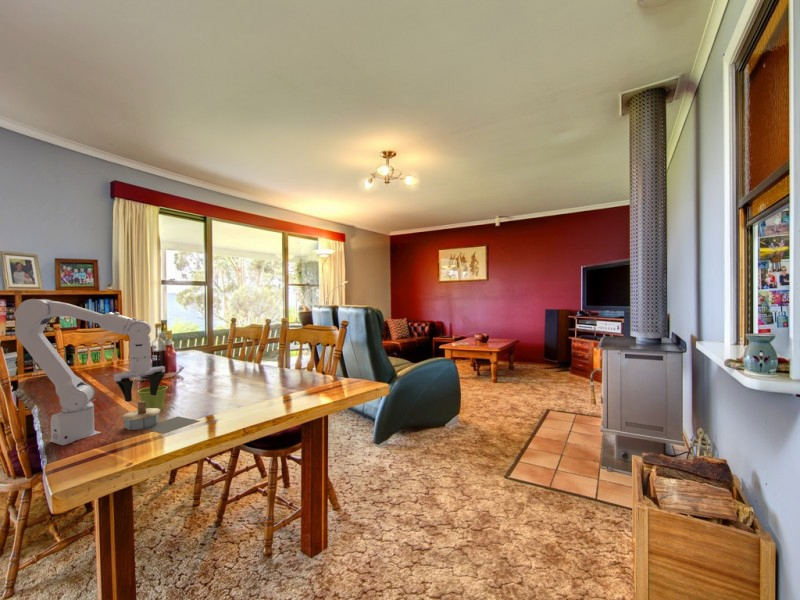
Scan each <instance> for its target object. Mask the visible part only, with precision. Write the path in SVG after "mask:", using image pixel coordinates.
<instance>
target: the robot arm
mask: <svg viewBox="0 0 800 600" xmlns="http://www.w3.org/2000/svg"><path fill="white" fill-rule="evenodd" d="M13 315H14V317H15V325H14V326H15V329H14V335H15V337H16V338H17V340H18V341H19V343H20V344H21V345H22V346H23V347H24V349H25V350H26V351H27V352H28V354H29V355H30V356H31V357H32V359H33V360H34V361H35V362H36V364H37V365H38V366H39V368H41V370H42V371H43V373H44V374H45V375H46V376H47V378H48V379H49V380H50V381H51V382H52V384H53V385H54V387H55V394H56V395H57V396H58V398H59V405H60V407H61V411H60V412H58V413H55V414H52V416H51V418H50V420H49V421H50V439H49V442H51V443H53V444H54V443H55V444H57V445H60V446H66V445H68V444H69V445H70V444H72V443H75V442H76V441H79V440H81V439H85V438H88V437H91V436H95V435H97V434H101V431H97V430H95V404H94V402H92V401H91V400H93V399H94V396H95V394H96V393H95V389H94V386H92V385H90V384H88V383H86V382H85V381H84V380H83V378H81V377H79V376H77V375H76V374H75V373H74V371H73V370H72V369H71V368H70V366H69V365H68V364H67V362H66V361H65V360H64V359H63V358H62V357H63V356H61V355H60V353H59V352H58V351H57V350H56V349H55V347H54V346H53V344H52V343H51V342H50V341H49V340H48V338H47V337H46V336H45V334H44V331H45V328H46V327H47V325H48V323H49V322H50V321H51V320H52V319H54V318H56V317H57V318H58V317H69V318H74V319H78V320H81V321H86V322H89V323H94V324H98V326H99V327H100V328H101V330H104V331H109V332H111V333H115V334H118V335H123V336H128V337H129V344H128V345H129V346H128V347H129V370H128V371H125V372H121V373H116V374H115V373H114V374H113V381H115V383H116V384H117V386H118V387H119V389H120V390H121V393H122V394H123V398H124V400H125V401H124V402H132V400H133V398H132V395H133V393H132V389H133V383H134V381H133V380H131V379H134V378H139V377H144V376H148V381H149V387H150V394H151V395H156V394H157V390H158V387H159V386H160V384H161V383H162V380H163V378H164V377H165V372H166V366H164V365H161V366H153V367H152V350H151V349H152V347H151V345H152V343H151V336H150V333H151V331H152V327H151V325H150V323H149V322H147V321H145V320H143V319H142V320H141V319H139V320H138V318H137V317H128V316H125V315H121V313H120V312H117V311H114V312H112V311H111V312H106V313H103V314H102V313H101V312H97V311H95V310H90V309H88V308H83V307H81V306H77V305H76V304H71V303H67V302H62V301H55V300H51V299H47V298H42V299H38V298H37V299H36V298H31V299H26V300H24V301H22V302H21V303H19V305H18V307H17V308H16V310H15V311H14V313H13Z"/></svg>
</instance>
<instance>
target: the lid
mask: <svg viewBox="0 0 800 600" xmlns="http://www.w3.org/2000/svg"><path fill="white" fill-rule="evenodd" d="M160 413H161V411H160V409H158V408H148V409H146V401H142V402H141V401H138V402H137V409H136V410H133V411H130V412H127V413H125V414H123V415H122V418H123V420H138V419H144V418H148V417H152V416H155V415H157V414H159V415H160Z"/></svg>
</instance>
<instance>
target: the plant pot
mask: <svg viewBox="0 0 800 600" xmlns="http://www.w3.org/2000/svg"><path fill="white" fill-rule="evenodd" d="M168 388H169V386H167V385H159V387H158V390H157V394H156V395H151V394H150V386H149V387H145V388H141V389H138V390H137V394H138V396H139V398H140V402H142V401H146V409H148V408H158V409H160V412H161V411H163V410H164V407H165V406H164V405H165V400H166V399H165V398H166V394H167V389H168Z"/></svg>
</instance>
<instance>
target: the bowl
mask: <svg viewBox="0 0 800 600" xmlns="http://www.w3.org/2000/svg"><path fill="white" fill-rule="evenodd" d="M159 415H160V413H159V414H157V415H155V416H152V417H148V418H144V419H138V420H124V419H123V420H124V421H123V422H124V429H126V430H128V431H135V430H143V429H142V428H147V427H150V426H153V425H155V424H156V423H159V422H160V421H159V419H160V418H159V417H160V416H159Z"/></svg>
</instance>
